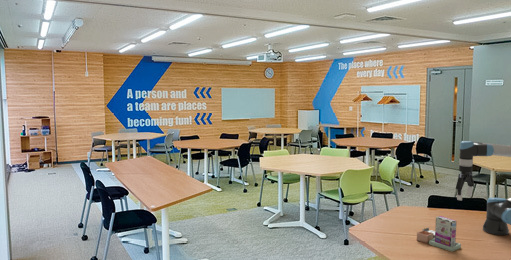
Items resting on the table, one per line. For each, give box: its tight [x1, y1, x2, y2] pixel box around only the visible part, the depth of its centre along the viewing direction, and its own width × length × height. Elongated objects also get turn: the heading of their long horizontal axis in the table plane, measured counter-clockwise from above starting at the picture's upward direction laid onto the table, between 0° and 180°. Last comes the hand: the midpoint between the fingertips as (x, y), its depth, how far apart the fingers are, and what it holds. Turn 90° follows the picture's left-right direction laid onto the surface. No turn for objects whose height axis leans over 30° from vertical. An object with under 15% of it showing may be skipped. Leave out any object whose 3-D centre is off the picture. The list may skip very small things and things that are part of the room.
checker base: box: [422, 227, 435, 239], centre depth 253 cm, size 6×16×5 cm, turn 37°
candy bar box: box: [434, 215, 458, 247], centre depth 239 cm, size 11×5×16 cm, turn 27°
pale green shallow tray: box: [428, 238, 462, 253], centre depth 240 cm, size 10×14×2 cm
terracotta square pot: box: [416, 229, 433, 244], centre depth 248 cm, size 7×7×5 cm
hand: (464, 198), depth 251 cm, fingers open, 13 cm apart
